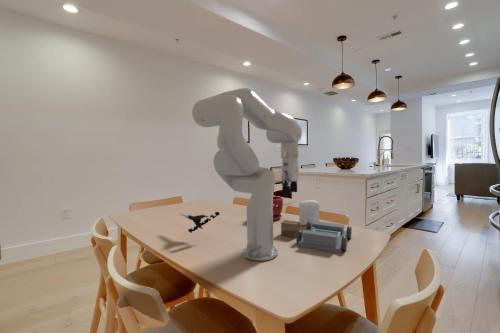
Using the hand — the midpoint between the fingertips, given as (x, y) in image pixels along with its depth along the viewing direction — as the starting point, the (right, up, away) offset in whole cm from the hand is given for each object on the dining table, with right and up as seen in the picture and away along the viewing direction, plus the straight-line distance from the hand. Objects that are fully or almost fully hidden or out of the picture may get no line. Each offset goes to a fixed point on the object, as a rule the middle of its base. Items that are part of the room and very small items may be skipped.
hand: (290, 193), depth 108 cm
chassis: (+13, -19, -6) cm, 24 cm away
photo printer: (+13, -18, +17) cm, 27 cm away
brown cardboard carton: (0, -19, +1) cm, 19 cm away
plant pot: (-6, -17, +29) cm, 34 cm away
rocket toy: (-44, -20, +1) cm, 48 cm away
